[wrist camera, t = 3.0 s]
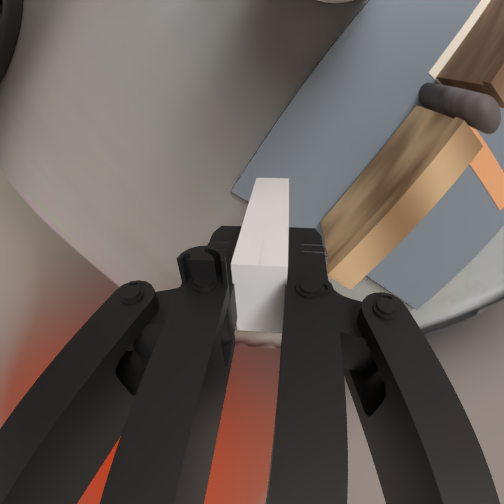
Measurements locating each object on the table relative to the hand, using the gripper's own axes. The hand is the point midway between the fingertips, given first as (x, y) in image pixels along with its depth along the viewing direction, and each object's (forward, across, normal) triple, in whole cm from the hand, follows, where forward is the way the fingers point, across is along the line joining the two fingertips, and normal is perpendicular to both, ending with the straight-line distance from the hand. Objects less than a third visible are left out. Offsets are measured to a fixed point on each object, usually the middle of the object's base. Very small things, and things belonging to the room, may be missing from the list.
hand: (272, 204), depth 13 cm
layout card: (+6, +13, +4) cm, 15 cm away
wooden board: (+5, +7, 0) cm, 9 cm away
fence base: (+6, +13, +11) cm, 18 cm away
